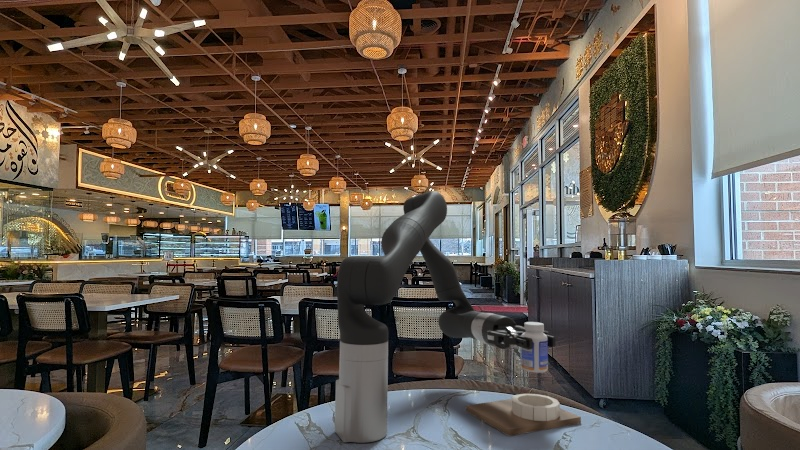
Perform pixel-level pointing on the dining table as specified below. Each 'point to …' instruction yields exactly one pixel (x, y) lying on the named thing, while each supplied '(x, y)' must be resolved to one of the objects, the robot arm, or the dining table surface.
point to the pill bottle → (535, 349)
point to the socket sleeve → (535, 407)
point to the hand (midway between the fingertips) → (542, 343)
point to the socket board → (516, 418)
